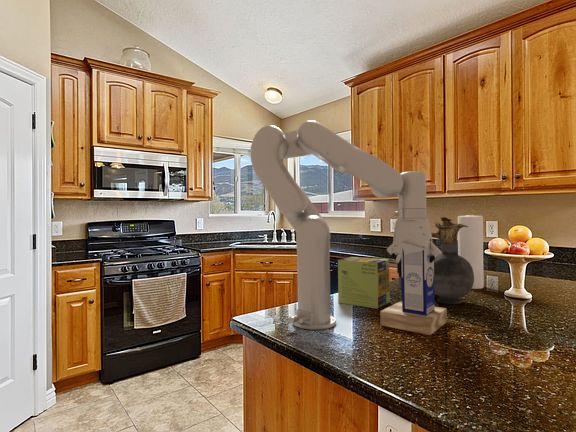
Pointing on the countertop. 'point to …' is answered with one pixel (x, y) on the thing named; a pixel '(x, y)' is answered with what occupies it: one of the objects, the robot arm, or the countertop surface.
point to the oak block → (413, 319)
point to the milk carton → (417, 280)
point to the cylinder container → (472, 246)
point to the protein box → (363, 282)
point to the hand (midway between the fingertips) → (413, 276)
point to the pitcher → (451, 266)
